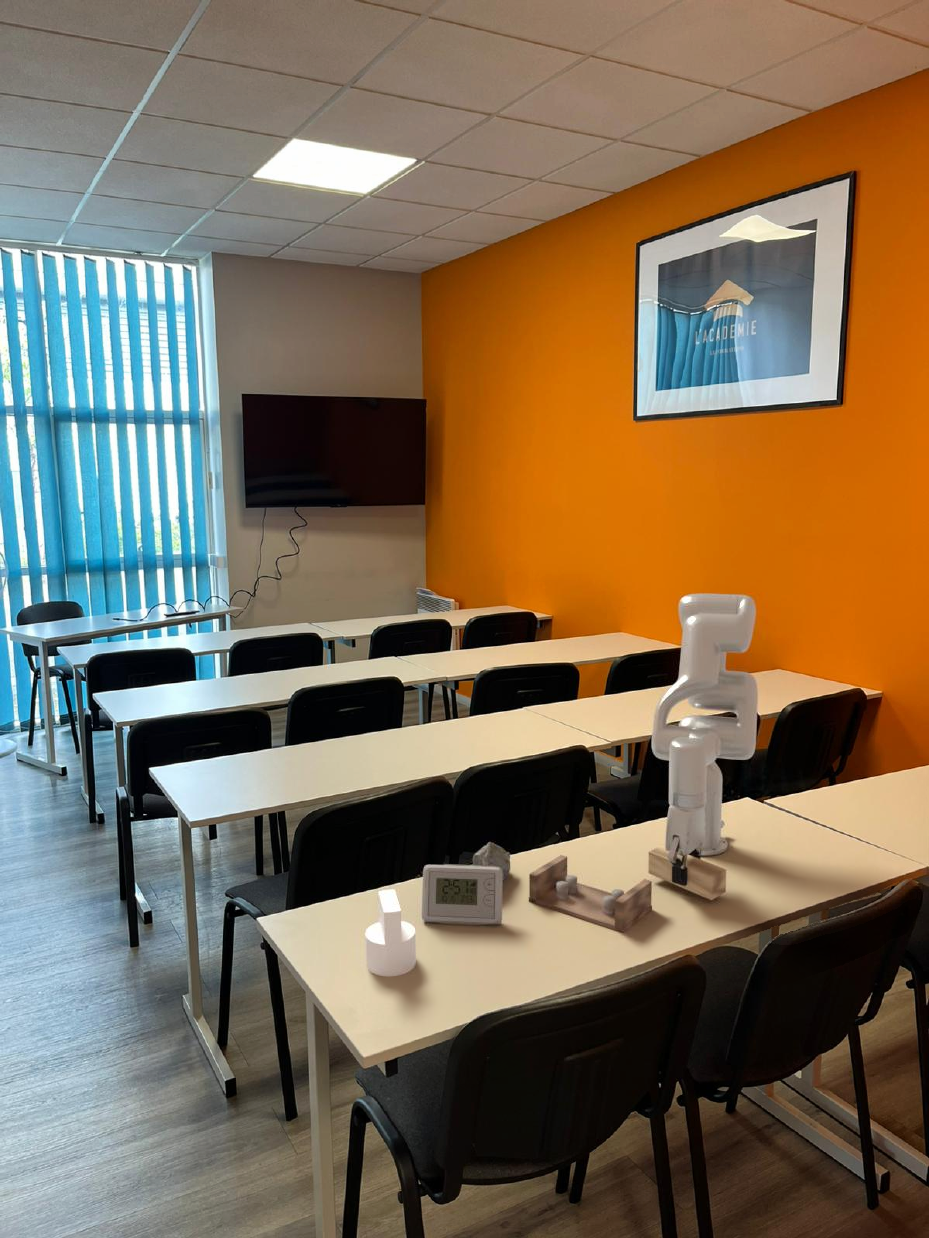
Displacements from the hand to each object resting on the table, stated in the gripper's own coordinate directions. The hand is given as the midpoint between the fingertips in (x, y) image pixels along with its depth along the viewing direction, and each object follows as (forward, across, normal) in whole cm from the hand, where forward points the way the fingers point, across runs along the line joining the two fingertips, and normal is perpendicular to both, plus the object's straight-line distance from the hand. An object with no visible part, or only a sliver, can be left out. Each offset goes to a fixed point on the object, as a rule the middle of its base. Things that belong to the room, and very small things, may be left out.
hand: (686, 876), depth 189 cm
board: (+1, 0, 0) cm, 1 cm away
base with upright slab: (+1, +59, -30) cm, 66 cm away
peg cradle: (+2, +18, -13) cm, 22 cm away
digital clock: (+2, +39, -30) cm, 49 cm away
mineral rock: (+3, +22, -34) cm, 41 cm away
